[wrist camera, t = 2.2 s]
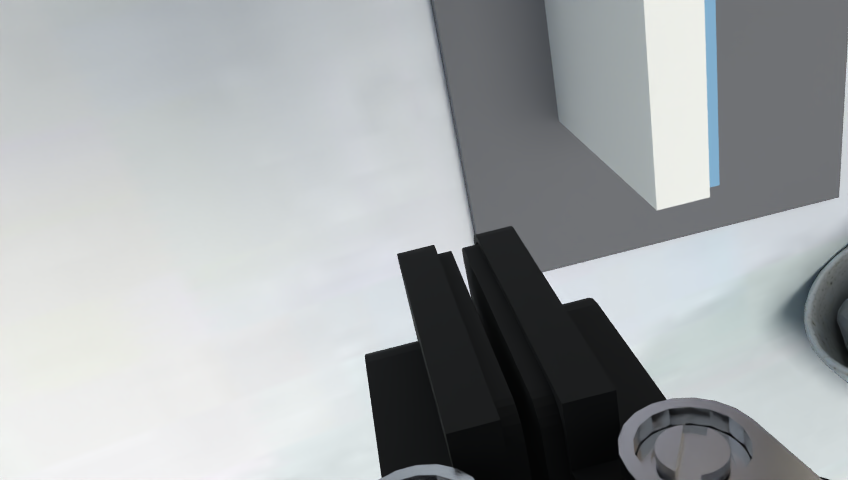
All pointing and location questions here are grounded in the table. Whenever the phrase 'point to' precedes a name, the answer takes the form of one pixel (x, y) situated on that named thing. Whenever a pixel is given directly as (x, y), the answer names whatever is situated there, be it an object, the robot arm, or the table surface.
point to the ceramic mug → (830, 314)
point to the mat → (594, 180)
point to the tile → (641, 90)
